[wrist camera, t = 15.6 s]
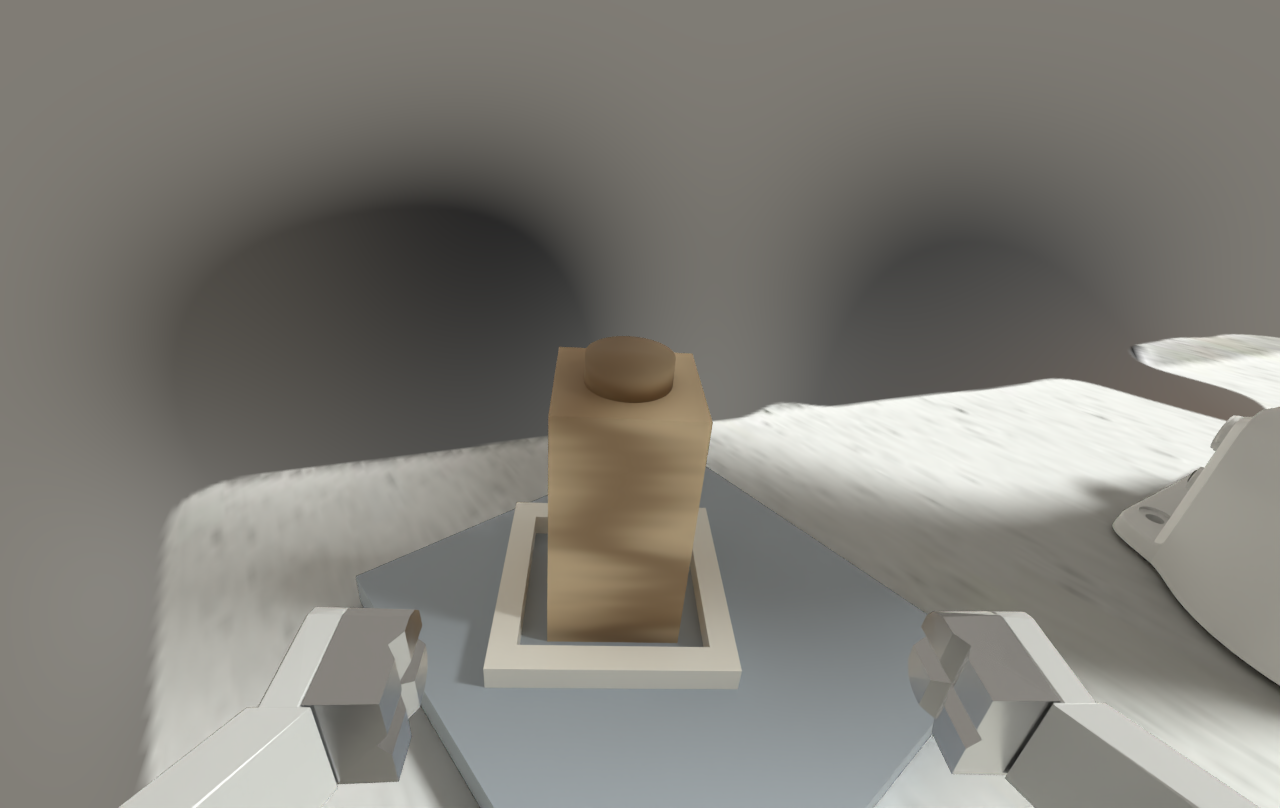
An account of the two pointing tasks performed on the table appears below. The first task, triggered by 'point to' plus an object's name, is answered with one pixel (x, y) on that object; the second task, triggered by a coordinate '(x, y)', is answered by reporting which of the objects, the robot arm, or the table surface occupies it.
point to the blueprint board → (677, 718)
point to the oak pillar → (623, 490)
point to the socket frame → (608, 663)
